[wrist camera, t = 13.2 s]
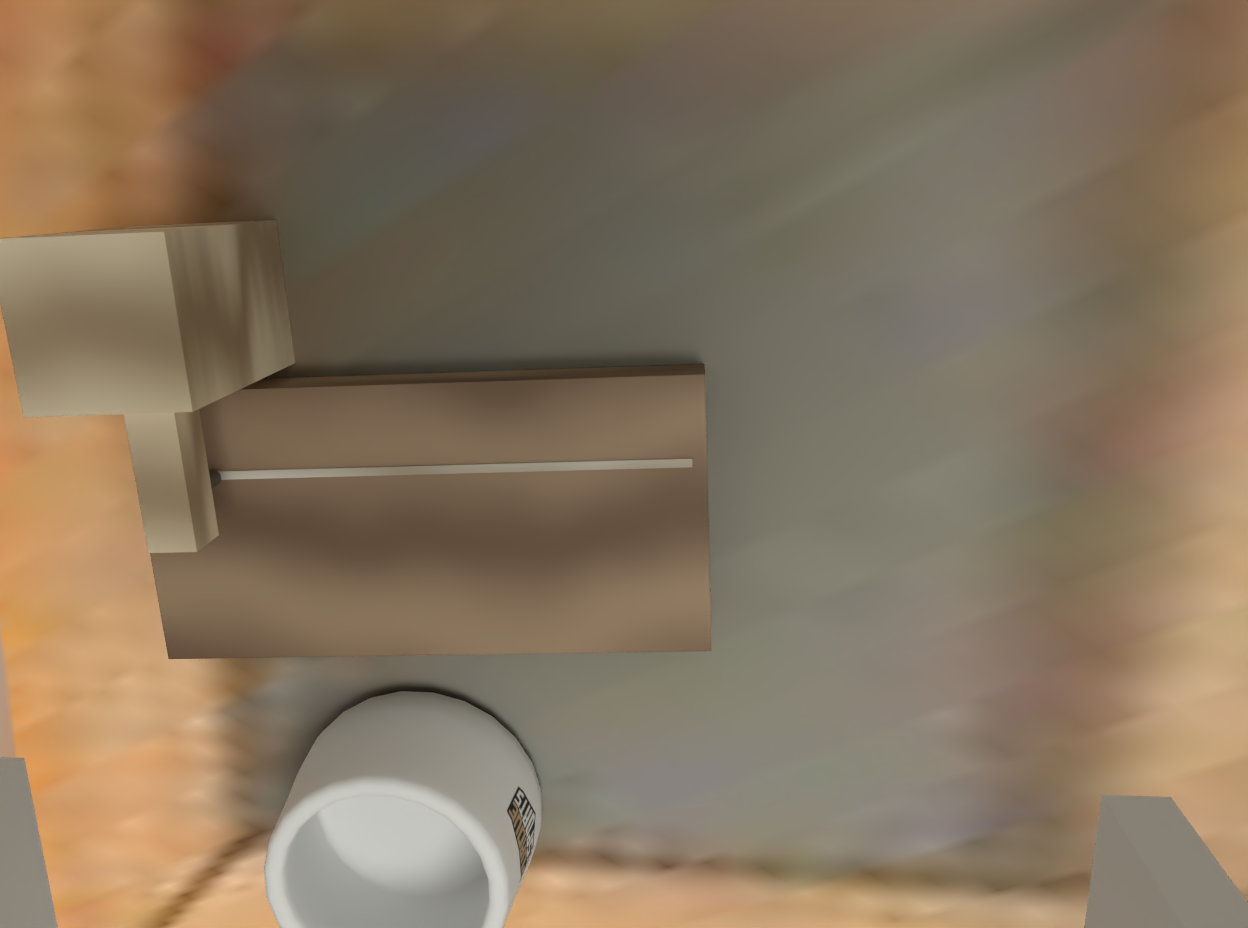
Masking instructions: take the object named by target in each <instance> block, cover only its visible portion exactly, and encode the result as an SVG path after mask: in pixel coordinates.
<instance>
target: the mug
mask: <svg viewBox="0 0 1248 928" xmlns="http://www.w3.org/2000/svg"><path fill="white" fill-rule="evenodd" d="M541 821H542V801H541V788H540V785H539V782H538V779H537V776H536V773H535V769H534V766H533V763H532V762H531V760H530V759H529V757H528V756H527V754H526V753H525V751H524V749H523V748H522V746H521V745H520V743H519V742H518V740H517V739H516V738H515V737H514V736H513V735H512V734H511V733H510V732H509V731H508V730H507V729H506V728H505V727H504V726H502V725H501V724H500V723H499V722H498V721H497V720H496V719H495V718H494V717H493V716H491V715H489V714H487V713H485V712H483V711H482V710H480V709H478V708H476V707H474V706H472V705H471V704H469V703H467V702H465V701H462V700H459V699H455V698H451V697H448V696H444V695H441V694H437V693H433V692H409V691H399V692H395V693H390V694H386V695H381V696H376V697H372V698H369V699H367V700H365V701H363V702H361V703H359V704H357V705H355V706H353V707H351V708H350V709H348V710H346V711H344V712H343V713H342V714H341V715H339V716H338V717H337V718H336V719H335V720H334V721H333V722H332V723H331V724H330V725H329V726H328V727H327V728H326V729H324V730H323V731H322V733H321V734H320V735H319V736H318V737H317V739H316V741H315V742H314V744H313V746H312V748H311V749H310V751H309V753H308V755H307V757H306V758H305V760H304V762H303V764H302V766H301V768H300V770H299V772H298V774H297V776H296V779H295V781H294V784H293V786H292V789H291V791H290V793H289V796H288V798H287V801H286V803H285V805H284V808H283V810H282V812H281V814H280V817H279V819H278V821H277V824H276V826H275V828H274V831H273V833H272V835H271V837H270V841H269V846H268V850H267V855H266V860H265V865H264V874H265V884H266V894H267V899H268V901H269V904H270V906H271V909H272V911H273V913H274V916H275V918H276V921H277V923H278V925H279V926H280V927H281V928H503V926H504V924H505V921H506V919H507V917H508V914H509V912H510V909H511V907H512V904H513V902H514V899H515V897H516V895H517V892H518V890H519V888H520V885H521V883H522V881H523V879H524V876H525V874H526V872H527V869H528V867H529V864H530V862H531V859H532V856H533V853H534V849H535V846H536V843H537V839H538V836H539V832H540V829H541Z"/></svg>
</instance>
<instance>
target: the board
mask: <svg viewBox="0 0 1248 928" xmlns="http://www.w3.org/2000/svg"><path fill="white" fill-rule="evenodd" d="M199 412H200V418H201V425H202V431H203V437H204V444H205V450H206V456H207V463H208V469H214V470H216V471H218V472H219V473H220V475H221V482H220V483H219V484H218V485H217V486H215V487H213V488H212V494H213V501H214V507H215V513H216V520H217V526H218V532H219V536H217V537H216V538H215V539H213V540H212V541H211V542H209V543H208V544H207V545H206V546H204V547H203V548H202V549H200V550H199V551H198V552H175V553H150V556H151V561H152V567H153V573H154V578H155V584H156V590H157V595H158V601H159V607H160V612H161V618H162V624H163V630H164V635H165V641H166V647H167V652H168V658H169V659H202V658H270V657H338V656H407V655H475V654H543V653H611V652H680V651H711V608H710V564H709V521H708V477H707V434H706V390H705V368H704V364H689V365H659V366H629V367H599V368H568V369H538V370H508V371H478V372H448V373H418V374H387V375H357V376H327V377H297V378H267V379H261V380H259V381H257V382H254V383H252V384H250V385H248V386H246V387H244V388H242V389H240V390H238V391H236V392H234V393H231V394H229V395H227V396H225V397H223V398H221V399H219V400H217V401H215V402H213V403H210V404H208V405H206V406H204V407H202V408H200V409H199Z"/></svg>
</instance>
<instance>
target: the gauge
mask: <svg viewBox="0 0 1248 928" xmlns="http://www.w3.org/2000/svg"><path fill="white" fill-rule="evenodd" d="M0 304H1V309H2V314H3V319H4V324H5V329H6V334H7V338H8V343H9V348H10V353H11V358H12V363H13V368H14V373H15V378H16V383H17V387H18V392H19V397H20V402H21V407H22V412H23V417H52V416H83V415H114V414H124V418H125V424H126V430H127V435H128V441H129V446H130V452H131V458H132V463H133V469H134V475H135V480H136V486H137V492H138V497H139V503H140V508H141V514H142V520H143V525H144V531H145V537H146V542H147V548H148V553H175V552H198V551H199V550H200V549H202V548H203V547H204V546H206V545H207V544H208V543H209V542H211V541H212V540H213V539H215V538H216V537H217V536H219V532H218V526H217V520H216V513H215V507H214V501H213V494H212V488H213V487H215V486H217V485H218V484H219V483H220V482H221V475H220V473H219V472H218V471H216V470H214V469H208V463H207V456H206V450H205V444H204V437H203V431H202V425H201V418H200V412H199V409H200V408H202V407H204V406H206V405H208V404H210V403H213V402H215V401H217V400H219V399H221V398H223V397H225V396H227V395H229V394H231V393H234V392H236V391H238V390H240V389H242V388H244V387H246V386H248V385H250V384H252V383H254V382H257V381H259V380H261V379H263V378H265V377H267V376H269V375H271V374H273V373H275V372H278V371H280V370H282V369H284V368H286V367H288V366H290V365H292V364H294V363H295V358H294V351H293V343H292V335H291V328H290V320H289V312H288V305H287V297H286V289H285V282H284V274H283V266H282V259H281V251H280V243H279V236H278V228H277V220H264V221H241V222H219V223H196V224H174V225H152V226H133V227H122V228H110V229H99V230H88V231H76V232H65V233H54V234H43V235H31V236H20V237H9V238H0Z"/></svg>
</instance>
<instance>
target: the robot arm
mask: <svg viewBox="0 0 1248 928" xmlns="http://www.w3.org/2000/svg"><path fill="white" fill-rule="evenodd" d="M0 928H58V926H57V921H56V916H55V911H54V906H53V901H52V896H51V891H50V886H49V881H48V876H47V871H46V866H45V861H44V856H43V851H42V846H41V841H40V835H39V830H38V825H37V820H36V815H35V810H34V805H33V800H32V795H31V790H30V785H29V780H28V775H27V770H26V765H25V760H24V758H10V757H0ZM1084 928H1248V902H1247V901H1246V900H1245V898H1244V897H1243V895H1242V894H1241V893H1240V891H1239V890H1238V889H1237V887H1236V886H1235V885H1234V883H1233V882H1232V880H1231V879H1230V878H1229V876H1228V875H1227V874H1226V872H1225V871H1224V869H1223V868H1222V867H1221V865H1220V864H1219V863H1218V861H1217V860H1216V858H1215V857H1214V856H1213V854H1212V853H1211V852H1210V850H1209V849H1208V848H1207V846H1206V845H1205V843H1204V842H1203V841H1202V839H1201V838H1200V837H1199V835H1198V834H1197V832H1196V831H1195V830H1194V828H1193V827H1192V826H1191V824H1190V823H1189V821H1188V820H1187V819H1186V817H1185V816H1184V815H1183V813H1182V812H1181V811H1180V809H1179V808H1178V806H1177V805H1176V804H1175V802H1174V801H1173V800H1172V798H1171V797H1151V796H1122V795H1102V798H1101V806H1100V813H1099V821H1098V828H1097V836H1096V843H1095V851H1094V859H1093V866H1092V874H1091V881H1090V889H1089V897H1088V904H1087V912H1086V919H1085V927H1084Z"/></svg>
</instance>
